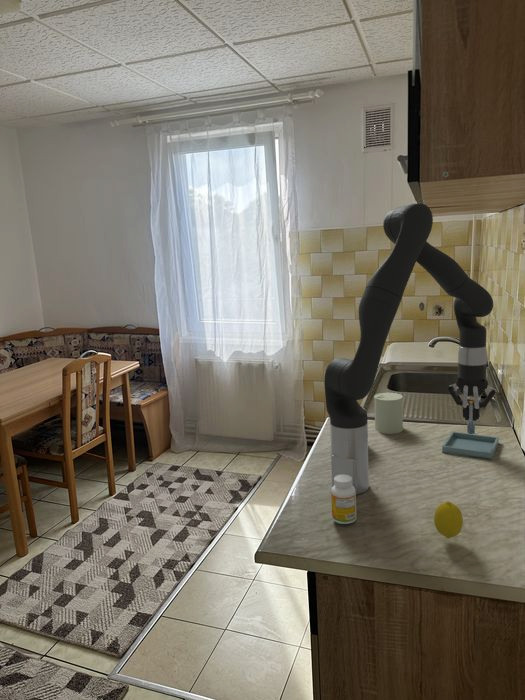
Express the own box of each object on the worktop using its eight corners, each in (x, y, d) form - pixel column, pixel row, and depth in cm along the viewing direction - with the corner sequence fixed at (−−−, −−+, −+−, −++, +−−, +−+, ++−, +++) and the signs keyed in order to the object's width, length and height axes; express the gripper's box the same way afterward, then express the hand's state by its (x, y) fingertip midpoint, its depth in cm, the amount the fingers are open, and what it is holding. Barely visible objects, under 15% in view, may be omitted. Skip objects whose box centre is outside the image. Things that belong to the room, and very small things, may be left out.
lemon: (447, 528, 108) (447, 493, 107) (468, 540, 103) (469, 503, 102) (428, 535, 106) (428, 500, 104) (449, 548, 101) (449, 511, 99)
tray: (491, 460, 140) (491, 453, 140) (442, 452, 147) (442, 446, 147) (498, 443, 151) (498, 437, 151) (452, 437, 158) (452, 431, 158)
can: (371, 426, 172) (370, 392, 170) (398, 424, 173) (397, 390, 171) (378, 435, 163) (378, 399, 161) (407, 433, 164) (406, 397, 162)
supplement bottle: (335, 511, 118) (333, 471, 116) (358, 514, 116) (357, 474, 114) (329, 522, 113) (328, 482, 111) (353, 526, 111) (352, 484, 109)
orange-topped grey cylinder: (474, 434, 147) (474, 401, 145) (466, 433, 148) (467, 400, 146) (475, 432, 149) (475, 399, 147) (467, 431, 150) (468, 398, 148)
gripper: (444, 362, 145) (443, 420, 148) (496, 365, 138) (495, 426, 141) (449, 357, 151) (449, 413, 154) (500, 360, 144) (498, 418, 147)
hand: (471, 419), depth 148 cm, fingers closed on orange-topped grey cylinder, 2 cm apart
